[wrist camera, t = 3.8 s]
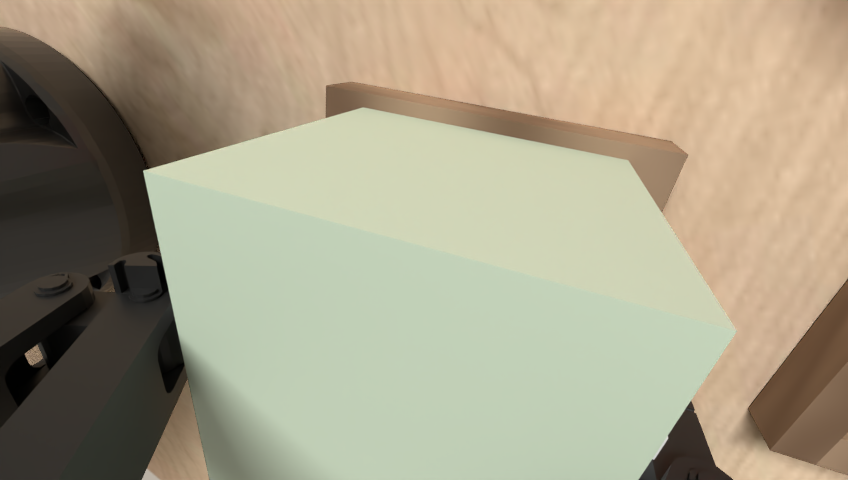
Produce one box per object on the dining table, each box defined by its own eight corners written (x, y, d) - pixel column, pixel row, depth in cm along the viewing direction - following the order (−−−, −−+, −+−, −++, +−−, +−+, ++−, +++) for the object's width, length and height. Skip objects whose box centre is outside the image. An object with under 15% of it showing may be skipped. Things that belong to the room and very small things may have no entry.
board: (343, 285, 20) (252, 382, 14) (351, 81, 16) (223, 100, 10) (578, 356, 18) (588, 510, 12) (671, 141, 13) (764, 215, 7)
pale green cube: (352, 307, 18) (210, 482, 11) (363, 107, 14) (143, 171, 7) (547, 368, 16) (537, 632, 9) (628, 160, 12) (736, 330, 5)
